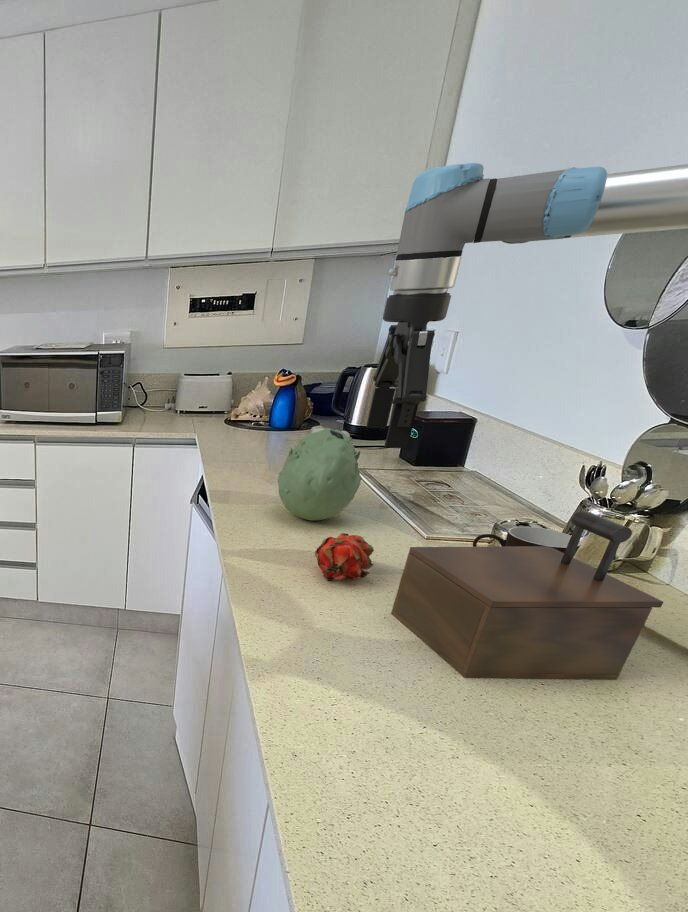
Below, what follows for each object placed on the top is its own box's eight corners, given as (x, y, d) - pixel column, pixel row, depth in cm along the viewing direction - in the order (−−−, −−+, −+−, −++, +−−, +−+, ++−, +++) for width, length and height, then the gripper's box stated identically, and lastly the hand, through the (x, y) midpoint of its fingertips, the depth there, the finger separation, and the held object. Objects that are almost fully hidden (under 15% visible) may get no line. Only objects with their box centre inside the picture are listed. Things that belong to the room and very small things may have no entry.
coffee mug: (570, 597, 94) (593, 541, 90) (538, 608, 91) (561, 551, 87) (488, 568, 104) (506, 517, 100) (457, 578, 101) (475, 526, 97)
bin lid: (547, 551, 86) (568, 497, 82) (661, 607, 71) (693, 544, 67) (408, 551, 88) (424, 499, 84) (490, 607, 72) (513, 545, 69)
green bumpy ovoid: (273, 528, 125) (289, 437, 117) (270, 500, 140) (284, 418, 132) (358, 537, 118) (381, 442, 111) (344, 507, 134) (364, 421, 126)
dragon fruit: (351, 572, 108) (331, 604, 101) (315, 540, 110) (292, 569, 103) (391, 548, 102) (372, 581, 95) (351, 514, 104) (330, 544, 97)
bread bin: (516, 613, 90) (540, 551, 86) (616, 679, 75) (652, 608, 71) (390, 613, 92) (408, 552, 88) (464, 677, 77) (490, 607, 72)
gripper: (370, 292, 95) (344, 420, 103) (411, 295, 74) (373, 456, 82) (426, 289, 92) (394, 421, 101) (484, 292, 71) (438, 458, 80)
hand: (385, 437), depth 91 cm, fingers open, 13 cm apart
